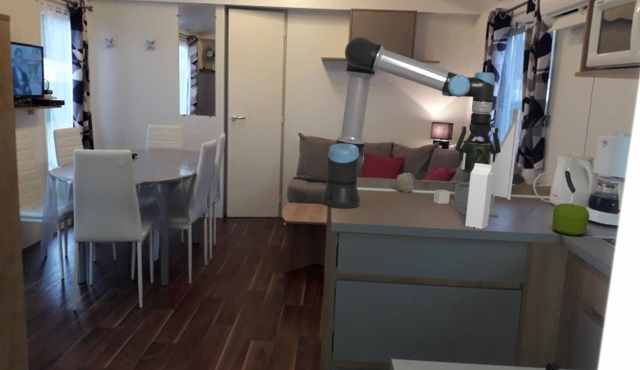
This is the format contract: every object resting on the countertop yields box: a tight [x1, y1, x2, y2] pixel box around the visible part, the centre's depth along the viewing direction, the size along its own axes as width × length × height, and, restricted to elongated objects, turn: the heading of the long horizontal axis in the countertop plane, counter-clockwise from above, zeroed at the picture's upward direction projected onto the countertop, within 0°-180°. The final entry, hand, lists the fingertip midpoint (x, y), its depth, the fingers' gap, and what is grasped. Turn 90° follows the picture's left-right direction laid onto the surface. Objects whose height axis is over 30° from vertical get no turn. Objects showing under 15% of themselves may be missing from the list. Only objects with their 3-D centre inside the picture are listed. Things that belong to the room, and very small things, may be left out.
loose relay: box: [433, 189, 451, 204], centre depth 223 cm, size 5×4×5 cm
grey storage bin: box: [448, 181, 499, 218], centre depth 211 cm, size 13×24×9 cm, turn 0°
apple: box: [551, 203, 590, 236], centre depth 181 cm, size 11×11×11 cm
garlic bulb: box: [393, 172, 416, 194], centre depth 241 cm, size 9×8×10 cm
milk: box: [465, 163, 494, 230], centre depth 183 cm, size 6×6×22 cm
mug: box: [461, 140, 491, 174], centre depth 208 cm, size 11×15×12 cm
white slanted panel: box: [491, 108, 522, 201], centre depth 244 cm, size 20×14×40 cm
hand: (475, 169), depth 209 cm, fingers closed on mug, 10 cm apart
